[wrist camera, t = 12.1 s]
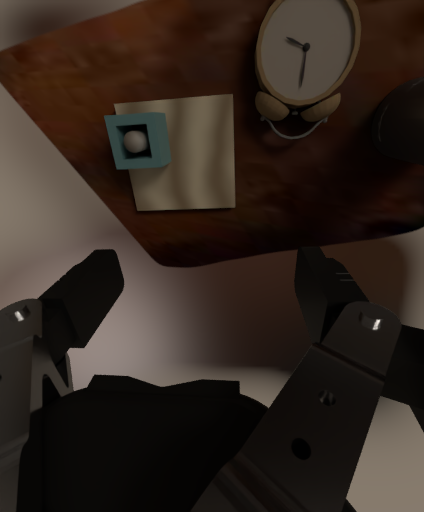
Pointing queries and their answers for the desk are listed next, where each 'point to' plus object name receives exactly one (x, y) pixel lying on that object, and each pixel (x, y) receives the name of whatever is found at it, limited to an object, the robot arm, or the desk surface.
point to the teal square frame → (157, 139)
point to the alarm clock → (304, 57)
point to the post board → (186, 154)
